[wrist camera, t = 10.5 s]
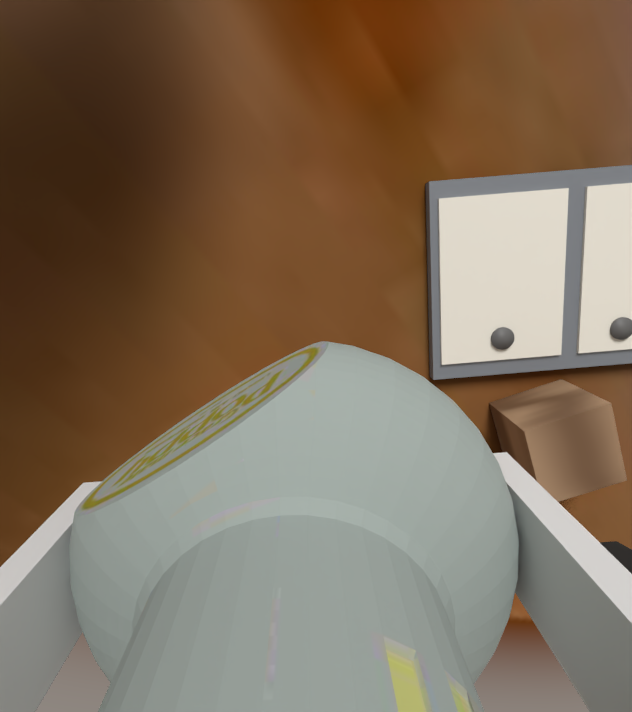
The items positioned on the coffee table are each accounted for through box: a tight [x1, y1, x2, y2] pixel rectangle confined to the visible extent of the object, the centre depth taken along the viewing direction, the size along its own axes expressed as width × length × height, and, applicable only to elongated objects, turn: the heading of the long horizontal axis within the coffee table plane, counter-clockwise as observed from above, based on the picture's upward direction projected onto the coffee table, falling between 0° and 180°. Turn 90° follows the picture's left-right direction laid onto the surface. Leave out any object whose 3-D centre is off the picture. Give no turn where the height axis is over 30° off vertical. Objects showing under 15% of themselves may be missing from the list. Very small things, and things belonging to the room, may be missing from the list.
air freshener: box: [69, 341, 519, 712], centre depth 9 cm, size 11×8×10 cm
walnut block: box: [489, 379, 627, 502], centre depth 28 cm, size 5×5×5 cm
